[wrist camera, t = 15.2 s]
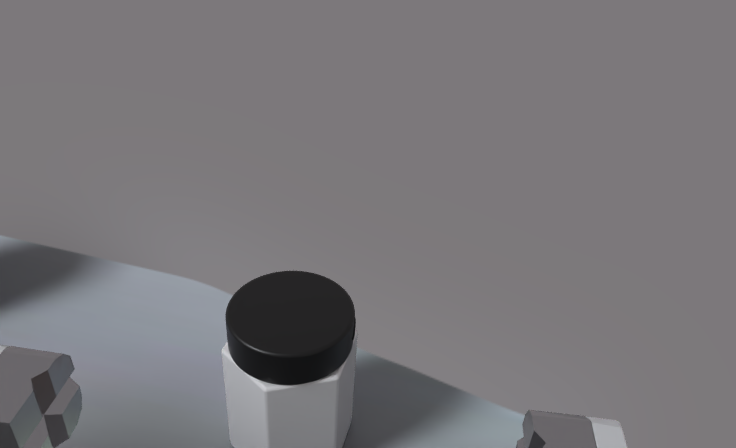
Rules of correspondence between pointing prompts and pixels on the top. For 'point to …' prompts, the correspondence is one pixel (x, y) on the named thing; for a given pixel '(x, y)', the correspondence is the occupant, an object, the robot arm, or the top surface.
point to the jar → (289, 362)
